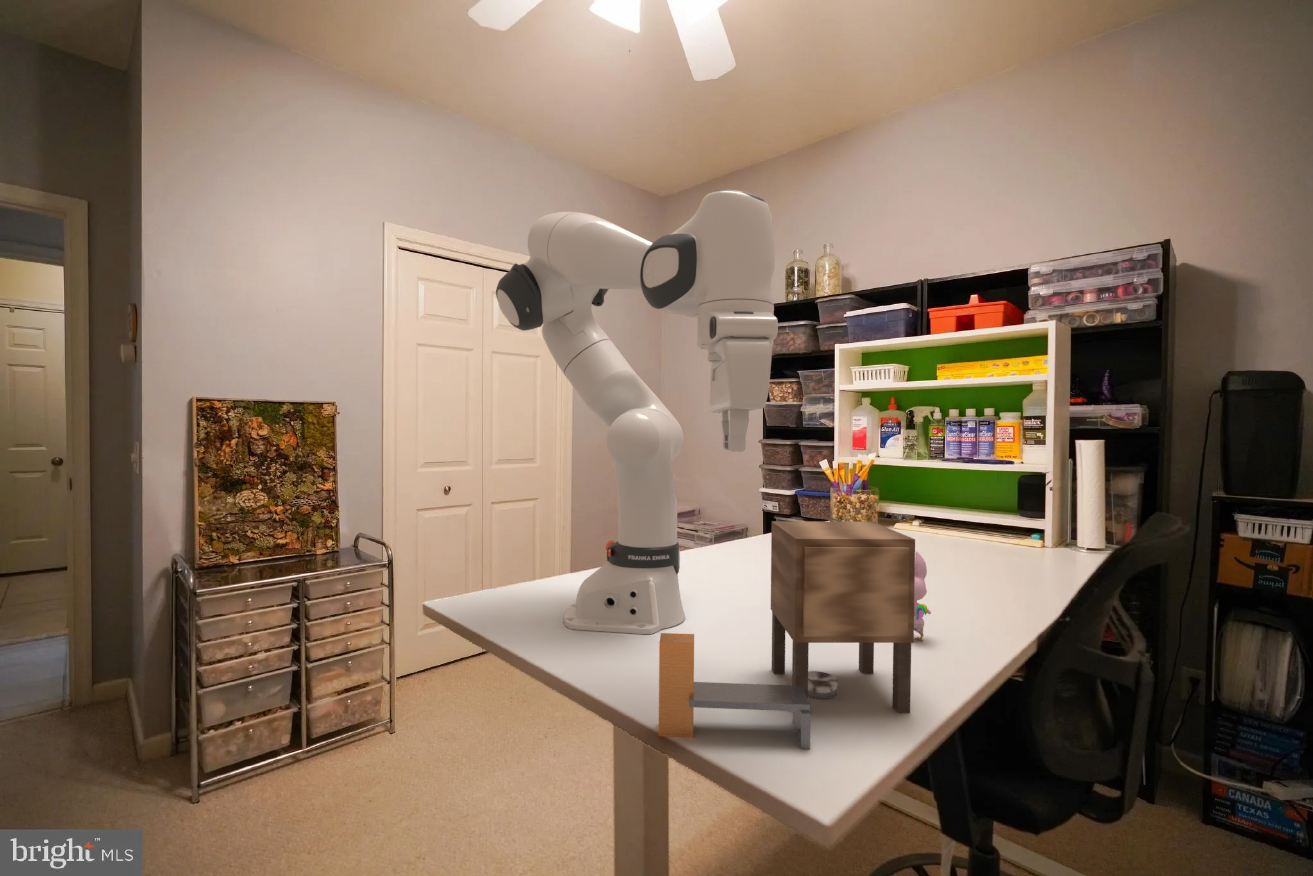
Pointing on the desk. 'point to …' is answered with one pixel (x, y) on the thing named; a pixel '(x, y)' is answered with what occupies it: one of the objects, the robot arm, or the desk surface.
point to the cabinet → (843, 595)
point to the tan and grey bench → (716, 693)
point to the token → (822, 685)
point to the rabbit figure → (919, 594)
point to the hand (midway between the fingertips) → (733, 450)
